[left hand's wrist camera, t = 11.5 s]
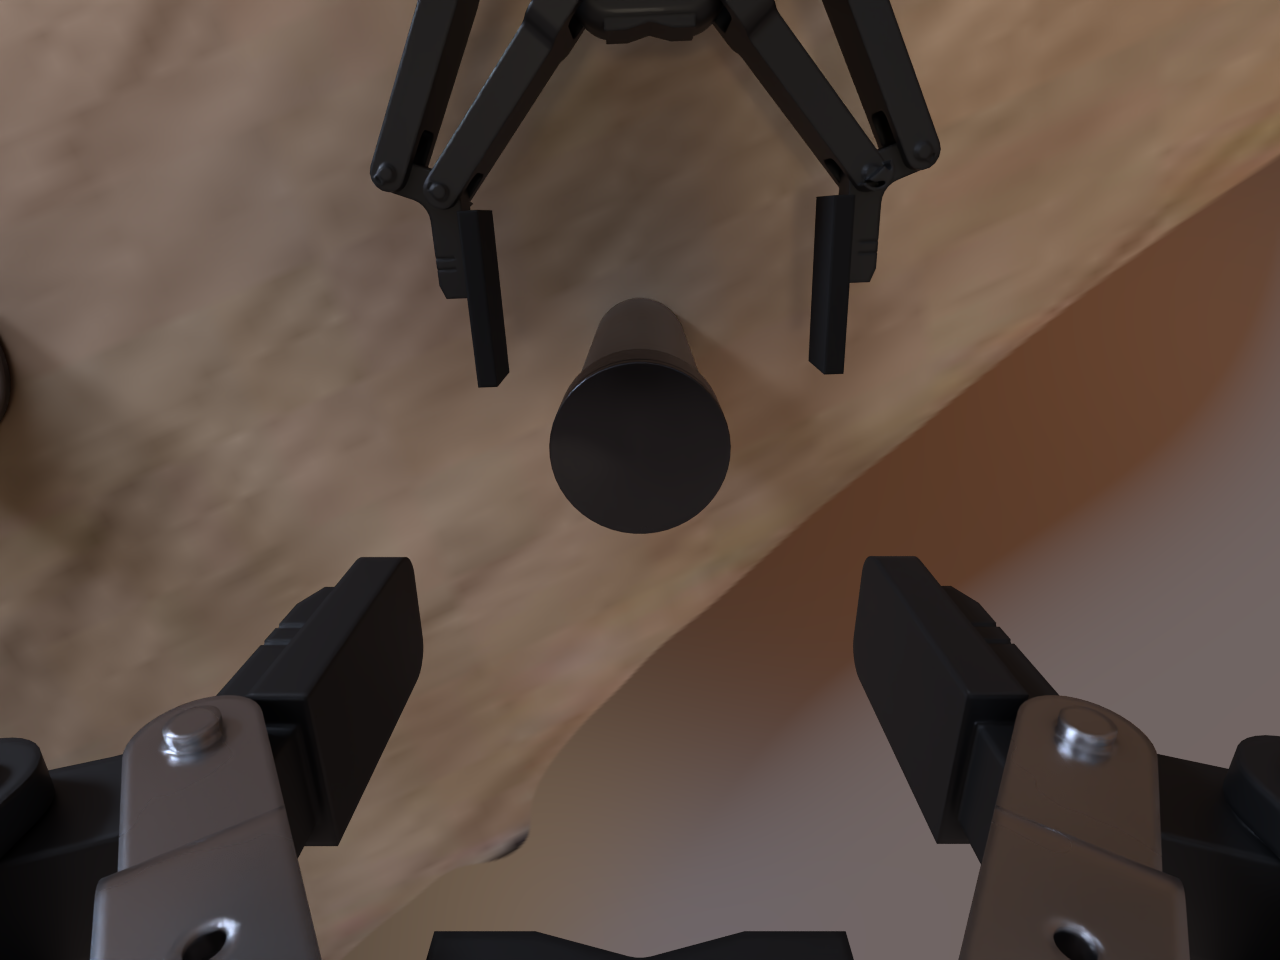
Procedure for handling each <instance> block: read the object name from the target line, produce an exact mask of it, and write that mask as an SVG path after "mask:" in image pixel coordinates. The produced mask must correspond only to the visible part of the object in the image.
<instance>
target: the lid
mask: <svg viewBox="0 0 1280 960" xmlns="http://www.w3.org/2000/svg"><path fill="white" fill-rule="evenodd" d="M549 449H550V460H551V466H552V470H553V473H554V476H555V479H556V481H557V483H558V485H559V487H560V489H561V490H562V492H563V494H564V495H565V497H566V498H567V499H568V500H569V501H570V503H571V504H572V505H573V506H574V507H575V508H576V509H577V510H578V511H579V512H581V513H582V514H583V515H584V516H586V517H587V518H589V519H590V520H592V521H594V522H596V523H597V524H599V525H601V526H604V527H607V528H609V529H612V530H616V531H620V532H625V533H633V534H646V533H655V532H660V531H664V530H668V529H671V528H673V527H676V526H679V525H681V524H683V523H684V522H686V521H688V520H690V519H691V518H693V517H694V516H696V515H697V514H698V513H699V512H701V511H702V510H703V509H704V508H705V507H706V506H707V505H708V504H709V503H710V502H711V500H712V499H713V498H714V497H715V495H716V494H717V492H718V491H719V489H720V487H721V485H722V483H723V481H724V479H725V476H726V473H727V470H728V466H729V461H730V450H731V444H730V434H729V430H728V425H727V422H726V420H725V417H724V414H723V412H722V409H721V407H720V405H719V402H718V400H717V397H716V395H715V393H714V392H713V390H712V388H711V386H710V385H709V384H708V382H707V381H706V379H705V378H704V377H703V376H702V375H701V374H700V373H699V372H698V371H697V370H696V369H695V368H693V367H692V366H691V365H690V364H688V363H687V362H685V361H683V360H682V359H680V358H678V357H676V356H673V355H671V354H669V353H665V352H661V351H658V350H651V349H629V350H622V351H619V352H615V353H612V354H609V355H607V356H604V357H602V358H600V359H598V360H597V361H595V362H593V363H592V364H590V365H589V366H588V367H587V368H585V369H584V370H583V371H582V372H581V373H580V374H579V375H578V376H577V377H576V378H575V380H574V381H573V382H572V384H571V385H570V386H569V388H568V390H567V392H566V393H565V395H564V397H563V400H562V402H561V405H560V407H559V410H558V412H557V414H556V417H555V420H554V422H553V426H552V430H551V434H550V444H549Z"/></svg>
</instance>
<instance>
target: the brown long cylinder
mask: <svg viewBox="0 0 1280 960" xmlns="http://www.w3.org/2000/svg"><path fill="white" fill-rule="evenodd" d="M629 349H651V350H658V351H661V352H665V353H669V354H671V355H673V356H676V357H678V358H680V359H682V360H683V361H685V362H687V363H688V364H690V365H691V366H692V367H693V368H695V369H696V370H697V371H698V369H697V366H696V363H695V361H694V358H693V355H692V353H691V350H690V347H689V345H688V342H687V339H686V337H685V334H684V331H683V329H682V326H681V324H680V322H679V320H678V318H677V317H676V316H675V314H674V313H673V312H672V311H671V310H670V309H669V308H667V307H666V306H665V305H663V304H661V303H659V302H657V301H654V300H651V299H645V298H635V299H629V300H626V301H623V302H621V303H619V304H617V305H615V306H614V307H613V308H611V309H610V310H609V311H608V312H607V313H606V314H605V316H604V317H603V318H602V320H601V322H600V324H599V326H598V328H597V331H596V334H595V336H594V339H593V342H592V345H591V347H590V350H589V353H588V355H587V358H586V361H585V363H584V366H583V369H582V371H583V370H584V369H585V368H587V367H588V366H589V365H590V364H592V363H593V362H595V361H597V360H598V359H600V358H602V357H604V356H607V355H609V354H612V353H615V352H619V351H622V350H629ZM582 371H581V372H582Z"/></svg>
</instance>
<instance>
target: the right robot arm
mask: <svg viewBox="0 0 1280 960" xmlns="http://www.w3.org/2000/svg"><path fill="white" fill-rule="evenodd" d="M479 1H480V0H418V2H417V5H416V9H415V12H414V16H413V19H412V23H411V26H410V30H409V33H408V37H407V40H406V44H405V47H404V51H403V54H402V58H401V61H400V65H399V68H398V72H397V75H396V79H395V82H394V86H393V89H392V93H391V96H390V100H389V103H388V107H387V110H386V114H385V117H384V121H383V124H382V128H381V131H380V135H379V138H378V142H377V145H376V149H375V152H374V156H373V159H372V163H371V167H370V175H371V179H372V181H373V183H374V184H375V185H376V187H378V188H379V189H381V190H382V191H386V192H391V193H394V194H397V195H400V196H403V197H406V198H409V199H412V200H415V201H417V202H419V203H420V204H421V205H423V206H424V208H425V209H426V210H427V212H428V214H429V216H430V220H431V227H432V234H433V241H434V249H435V256H436V263H437V269H438V278H439V285H440V287H441V289H442V291H443V293H444V295H445V297H446V299H457V298H467V300H468V308H469V316H470V324H471V332H472V340H473V348H474V356H475V364H476V372H477V380H478V388H480V387H498V385H499V384H500V383H501V382H502V381H503V379H504V378H505V377H506V376H507V374H508V373H509V364H508V355H507V345H506V336H505V327H504V317H503V308H502V299H501V289H500V280H499V271H498V261H497V252H496V243H495V233H494V224H493V215H492V210H470V206H471V205H472V204H473V203H472V202H470V201H471V200H472V198H473V196H474V195H475V193H476V192H477V190H478V189H479V187H480V186H481V184H482V183H483V181H484V179H485V178H486V176H487V175H488V173H489V172H490V170H491V169H492V167H493V166H494V164H495V162H496V161H497V159H498V158H499V156H500V155H501V153H502V152H503V150H504V148H505V147H506V145H507V144H508V142H509V141H510V139H511V138H512V136H513V135H514V133H515V131H516V130H517V128H518V127H519V125H520V124H521V122H522V121H523V119H524V117H525V116H526V114H527V113H528V111H529V110H530V108H531V107H532V105H533V104H534V102H535V100H536V99H537V97H538V96H539V94H540V93H541V91H542V90H543V88H544V87H545V85H546V83H547V82H548V80H549V79H550V77H551V76H552V74H553V73H554V71H555V69H556V68H557V66H558V65H559V64H560V62H561V61H562V60H564V59H565V58H566V57H567V55H568V54H569V53H570V51H571V50H572V48H573V47H574V45H575V43H576V42H577V40H578V39H579V37H580V36H581V34H582V33H583V31H584V30H585V29H586V30H588V31H589V32H590V33H591V34H593V35H594V36H596V37H598V38H601V39H604V40H606V43H607V44H623V43H630V42H633V41H635V40H638V39H641V38H644V37H646V36H653V37H656V38H660V39H664V40H668V41H690V40H692V38H693V36H695V35H697V34H699V33H701V32H703V31H704V30H706V29H707V28H708V27H709V26H710V25H711V24H713V25H714V26H715V28H716V29H717V30H718V32H719V33H720V34H721V36H722V37H723V38H724V40H725V41H726V42H727V44H728V45H729V46H730V47H731V49H733V50H734V51H735V52H736V53H738V54H739V55H740V56H741V57H742V58H743V60H744V61H745V63H746V64H747V65H748V67H749V68H750V69H751V71H752V72H753V73H754V75H755V76H756V77H757V79H758V80H759V81H760V83H761V84H762V85H763V87H764V88H765V89H766V91H767V92H768V93H769V95H770V96H771V97H772V99H773V100H774V101H775V103H776V104H777V105H778V107H779V108H780V109H781V111H782V112H783V113H784V115H785V116H786V117H787V119H788V120H789V121H790V123H791V124H792V125H793V127H794V128H795V129H796V131H797V132H798V133H799V135H800V136H801V137H802V139H803V140H804V141H805V143H806V144H807V145H808V147H809V148H810V149H811V151H812V152H813V153H814V155H815V156H816V157H817V159H818V160H819V161H820V163H821V164H822V165H823V167H824V168H825V169H826V171H827V172H828V173H829V175H830V176H831V177H832V179H833V180H834V181H835V183H836V184H837V185H838V187H839V195H833V196H822V197H817V199H816V219H815V239H814V260H813V280H812V301H811V321H810V342H809V362H810V363H812V364H813V365H814V366H815V367H816V368H817V369H819V370H820V371H821V372H822V373H823V374H843V372H844V358H845V343H846V328H847V313H848V298H849V283H858V282H870V280H871V278H872V276H873V273H874V271H875V269H876V260H877V248H878V235H879V223H880V210H881V201H882V196H883V194H884V192H885V190H886V189H887V187H888V186H889V185H890V184H891V183H893V182H894V181H896V180H898V179H901V178H903V177H905V176H908V175H910V174H912V173H915V172H917V171H920V170H924V169H927V168H930V167H931V166H932V165H933V164H935V162H936V161H937V159H938V158H939V155H940V150H941V148H940V142H939V139H938V136H937V133H936V131H935V128H934V125H933V122H932V119H931V116H930V114H929V111H928V108H927V105H926V102H925V99H924V97H923V94H922V91H921V88H920V85H919V83H918V80H917V77H916V74H915V71H914V68H913V66H912V63H911V60H910V57H909V54H908V52H907V49H906V46H905V43H904V40H903V37H902V35H901V32H900V29H899V26H898V23H897V21H896V18H895V15H894V12H893V9H892V6H891V4H890V1H889V0H822V2H823V4H824V7H825V9H826V12H827V15H828V17H829V20H830V22H831V25H832V28H833V30H834V33H835V35H836V38H837V41H838V43H839V46H840V49H841V51H842V54H843V56H844V59H845V62H846V64H847V67H848V69H849V72H850V75H851V77H852V80H853V82H854V85H855V88H856V90H857V93H858V95H859V98H860V101H861V103H862V106H863V108H864V111H865V114H866V116H867V119H868V121H869V124H870V127H871V129H872V132H873V134H874V137H875V140H876V142H877V145H878V147H879V149H876V148H875V146H874V145H873V143H872V142H871V141H870V139H869V138H868V137H867V135H866V134H865V132H864V131H863V130H862V128H861V127H860V125H859V124H858V123H857V121H856V120H855V118H854V117H853V116H852V114H851V113H850V111H849V110H848V109H847V107H846V106H845V104H844V103H843V102H842V100H841V99H840V98H839V96H838V95H837V93H836V92H835V91H834V89H833V88H832V86H831V85H830V84H829V82H828V81H827V79H826V78H825V77H824V75H823V74H822V72H821V71H820V70H819V68H818V67H817V65H816V64H815V63H814V61H813V60H812V59H811V57H810V56H809V54H808V53H807V52H806V50H805V49H804V47H803V46H802V45H801V43H800V42H799V40H798V39H797V38H796V36H795V35H794V33H793V32H792V31H791V29H790V28H789V27H788V25H787V24H786V22H785V21H784V20H783V18H782V17H781V15H780V14H779V12H778V10H777V8H776V5H775V1H774V0H532V1H531V2H530V4H529V6H528V8H527V10H526V13H525V17H524V20H523V22H522V24H521V26H520V28H519V29H518V31H517V33H516V34H515V36H514V38H513V39H512V41H511V42H510V44H509V46H508V47H507V49H506V51H505V52H504V54H503V55H502V57H501V59H500V60H499V62H498V63H497V65H496V67H495V68H494V70H493V72H492V73H491V75H490V76H489V78H488V80H487V81H486V83H485V85H484V86H483V88H482V89H481V91H480V93H479V94H478V96H477V97H476V99H475V101H474V102H473V104H472V106H471V107H470V109H469V110H468V112H467V114H466V115H465V117H464V119H463V120H462V122H461V123H460V125H459V127H458V128H457V130H456V131H455V133H454V135H453V136H452V138H451V140H450V141H449V143H448V144H447V146H446V148H445V149H444V151H443V152H442V154H441V156H440V157H439V159H438V161H437V162H436V164H435V165H434V167H433V169H432V168H429V167H428V165H429V162H430V159H431V156H432V153H433V149H434V146H435V143H436V140H437V137H438V133H439V130H440V127H441V124H442V121H443V117H444V114H445V111H446V108H447V105H448V101H449V98H450V95H451V92H452V89H453V85H454V82H455V79H456V76H457V73H458V69H459V66H460V63H461V60H462V57H463V53H464V50H465V47H466V44H467V41H468V37H469V34H470V31H471V28H472V25H473V21H474V18H475V15H476V12H477V9H478V5H479Z"/></svg>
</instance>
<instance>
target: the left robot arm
mask: <svg viewBox="0 0 1280 960" xmlns="http://www.w3.org/2000/svg"><path fill="white" fill-rule="evenodd" d="M9 397H10V375H9V369H8V364H7V361H6V358H5V355H4V352H3V350H2V347H1V345H0V421H1V419H2V417H3V416H4V414H5V411H6V409H7V406H8V402H9ZM853 653H854V662H855V667H856V671H857V675H858V677H859V680H860V682H861V684H862V686H863V688H864V690H865V692H866V694H867V697H868V699H869V701H870V703H871V705H872V707H873V709H874V711H875V714H876V716H877V718H878V720H879V722H880V724H881V726H882V728H883V731H884V733H885V735H886V737H887V739H888V741H889V743H890V745H891V747H892V750H893V752H894V754H895V756H896V758H897V760H898V762H899V764H900V767H901V769H902V771H903V773H904V775H905V777H906V779H907V781H908V784H909V786H910V788H911V790H912V792H913V794H914V796H915V798H916V800H917V803H918V805H919V807H920V809H921V811H922V813H923V815H924V817H925V820H926V822H927V824H928V826H929V828H930V830H931V832H932V834H933V836H934V839H935V841H936V843H937V844H971V846H972V848H973V850H974V852H975V854H976V856H977V858H978V860H979V862H980V863H981V867H980V872H979V875H978V880H977V884H976V888H975V892H974V897H973V901H972V905H971V909H970V913H969V918H968V922H967V926H966V930H965V934H964V939H963V943H962V947H961V951H960V955H959V960H1280V736H1268V735H1263V736H1254V737H1249V738H1246V739H1245V740H1243V741H1241V742H1240V744H1239V745H1238V746H1237V749H1236V752H1235V754H1234V757H1233V759H1232V762H1231V765H1230V767H1229V769H1226V768H1221V767H1217V766H1212V765H1207V764H1202V763H1198V762H1193V761H1188V760H1183V759H1178V758H1174V757H1169V756H1165V755H1160V754H1157V753H1156V750H1155V748H1154V746H1153V744H1152V743H1151V741H1150V740H1149V739H1148V737H1147V736H1146V735H1145V734H1144V733H1143V732H1142V731H1141V730H1140V729H1139V728H1137V727H1136V726H1135V725H1134V724H1132V723H1131V722H1130V721H1128V720H1126V719H1125V718H1123V717H1122V716H1120V715H1118V714H1116V713H1115V712H1113V711H1111V710H1109V709H1106V708H1104V707H1102V706H1100V705H1097V704H1094V703H1091V702H1088V701H1085V700H1081V699H1077V698H1072V697H1067V696H1059V695H1058V693H1057V692H1056V691H1055V690H1054V689H1053V688H1052V687H1051V685H1050V684H1049V683H1048V682H1047V681H1046V680H1045V678H1044V677H1043V676H1042V675H1041V674H1040V673H1039V672H1038V670H1037V669H1036V668H1035V667H1034V666H1033V665H1032V664H1031V662H1030V661H1029V660H1028V659H1027V658H1026V657H1025V656H1024V654H1023V653H1022V652H1021V651H1020V650H1019V649H1018V647H1017V646H1016V645H1015V644H1011V642H1010V638H1009V637H1008V636H1007V635H1006V634H1005V633H1004V631H1003V630H1002V629H1001V628H1000V627H996V622H995V621H994V620H993V619H992V618H991V616H990V615H989V614H988V613H987V612H986V611H985V610H984V608H983V607H982V606H981V605H980V604H979V603H978V602H976V601H975V600H973V599H971V598H970V597H968V596H966V595H965V594H963V593H962V592H960V591H958V590H957V589H955V588H953V587H952V586H941V585H940V584H939V583H938V582H937V580H936V579H935V578H934V577H933V575H932V574H931V573H930V572H929V571H928V569H927V568H926V567H925V566H924V564H923V563H922V562H921V561H920V560H919V559H918V558H917V557H915V556H869V557H868V558H867V559H866V560H865V563H864V566H863V570H862V577H861V585H860V592H859V600H858V608H857V616H856V623H855V631H854V640H853ZM422 659H423V636H422V629H421V621H420V613H419V606H418V598H417V591H416V583H415V575H414V569H413V565H412V563H411V561H410V559H409V558H407V557H360V558H359V559H357V560H356V562H355V563H354V564H353V565H352V566H351V568H350V569H349V570H348V571H347V573H346V574H345V575H344V576H343V577H342V579H341V580H340V581H339V582H338V584H337V585H336V586H335V587H324V588H323V589H321V590H319V591H318V592H316V593H314V594H313V595H311V596H309V597H308V598H306V599H304V600H303V601H301V602H300V603H298V604H297V605H296V606H295V607H294V608H293V609H292V610H291V611H290V612H289V614H288V615H287V616H286V617H285V618H284V619H283V620H282V622H281V623H280V624H279V628H275V630H274V631H273V632H272V633H271V634H270V635H269V636H268V637H267V639H266V640H265V644H264V645H260V647H259V648H258V649H257V650H256V651H255V652H254V653H253V655H252V656H251V657H250V658H249V659H248V660H247V661H246V662H245V664H244V665H243V666H242V667H241V668H240V669H239V670H238V672H237V673H236V674H235V675H234V676H233V677H232V678H231V680H230V681H229V682H228V683H227V684H226V685H225V686H224V687H223V689H222V690H221V691H220V692H219V693H218V694H217V695H216V696H213V697H208V698H203V699H199V700H195V701H192V702H189V703H186V704H183V705H180V706H178V707H176V708H174V709H171V710H169V711H167V712H165V713H164V714H162V715H160V716H158V717H157V718H155V719H154V720H152V721H150V722H149V723H148V724H146V725H145V726H144V727H143V728H141V729H140V730H139V731H138V732H137V733H136V734H135V735H134V736H133V737H132V739H131V740H130V741H129V743H128V744H127V746H126V748H125V750H124V752H123V754H122V755H118V756H114V757H110V758H105V759H100V760H96V761H91V762H86V763H81V764H77V765H72V766H67V767H63V768H58V769H53V770H48V769H47V766H46V764H45V761H44V759H43V756H42V753H41V751H40V748H39V747H38V746H37V745H36V743H34V742H32V741H30V740H26V739H22V738H0V960H321V955H320V951H319V947H318V943H317V939H316V934H315V930H314V926H313V922H312V918H311V913H310V909H309V905H308V901H307V897H306V892H305V888H304V884H303V880H302V875H301V871H300V867H299V863H298V857H299V855H300V853H301V851H302V849H303V847H304V846H338V845H339V843H340V841H341V838H342V836H343V834H344V832H345V830H346V828H347V826H348V824H349V822H350V820H351V818H352V815H353V813H354V811H355V809H356V807H357V805H358V803H359V801H360V799H361V797H362V795H363V792H364V790H365V788H366V786H367V784H368V782H369V780H370V778H371V776H372V774H373V772H374V769H375V767H376V765H377V763H378V761H379V759H380V757H381V755H382V753H383V751H384V749H385V746H386V744H387V742H388V740H389V738H390V736H391V734H392V732H393V730H394V728H395V726H396V723H397V721H398V719H399V717H400V715H401V713H402V711H403V709H404V707H405V705H406V703H407V700H408V698H409V696H410V694H411V692H412V690H413V688H414V686H415V684H416V682H417V679H418V677H419V674H420V670H421V666H422ZM426 960H854V959H853V956H852V952H851V949H850V945H849V942H848V938H847V935H846V932H845V931H744V932H740V933H737V934H733V935H729V936H725V937H722V938H718V939H714V940H711V941H707V942H703V943H700V944H696V945H692V946H689V947H685V948H681V949H677V950H673V951H670V952H666V953H662V954H659V955H655V956H651V957H645V958H634V957H629V956H625V955H621V954H618V953H614V952H610V951H607V950H603V949H599V948H595V947H592V946H588V945H584V944H580V943H577V942H573V941H569V940H565V939H562V938H558V937H554V936H551V935H547V934H543V933H540V932H536V931H435V932H434V935H433V938H432V942H431V945H430V949H429V952H428V955H427V959H426Z"/></svg>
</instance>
